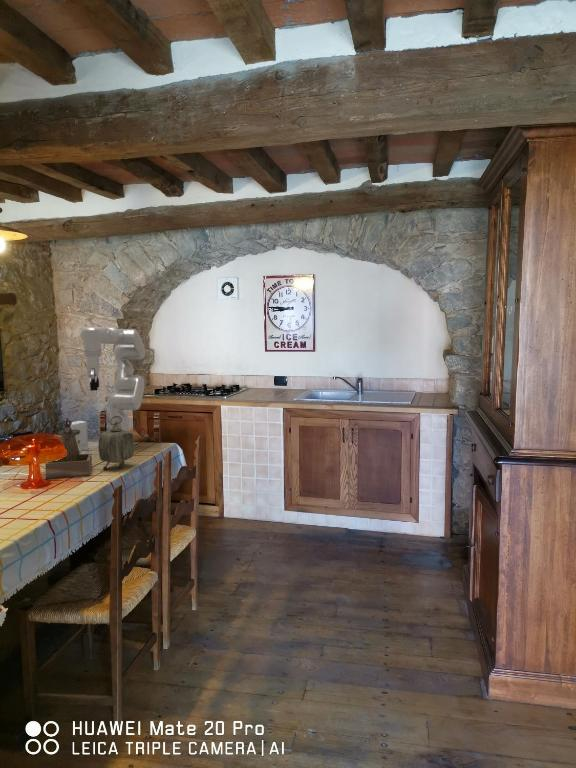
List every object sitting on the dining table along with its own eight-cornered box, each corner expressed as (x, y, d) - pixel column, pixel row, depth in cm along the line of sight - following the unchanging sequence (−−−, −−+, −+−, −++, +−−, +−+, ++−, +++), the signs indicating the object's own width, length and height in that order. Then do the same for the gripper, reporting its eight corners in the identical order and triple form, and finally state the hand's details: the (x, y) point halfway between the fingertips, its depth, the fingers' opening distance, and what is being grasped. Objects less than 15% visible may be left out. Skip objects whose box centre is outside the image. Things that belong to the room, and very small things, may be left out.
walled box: (51, 470, 244) (50, 456, 243) (92, 467, 249) (91, 453, 248) (46, 479, 230) (45, 463, 230) (89, 476, 235) (88, 460, 235)
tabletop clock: (123, 463, 257) (121, 413, 254) (136, 465, 253) (134, 414, 250) (99, 470, 245) (97, 417, 242) (112, 472, 240) (110, 419, 238)
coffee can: (60, 457, 269) (58, 430, 268) (81, 455, 273) (80, 428, 271) (58, 461, 260) (57, 434, 258) (81, 460, 263) (79, 432, 262)
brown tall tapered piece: (64, 474, 234) (61, 419, 232) (57, 471, 239) (54, 417, 238) (83, 470, 240) (80, 416, 238) (76, 468, 245) (73, 415, 244)
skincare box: (82, 447, 289) (81, 420, 288) (88, 449, 285) (87, 421, 284) (68, 450, 283) (66, 422, 281) (74, 452, 279) (73, 423, 277)
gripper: (86, 352, 257) (88, 386, 260) (82, 355, 241) (84, 391, 243) (102, 352, 259) (104, 386, 262) (99, 355, 243) (101, 391, 245)
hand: (94, 388), depth 253 cm, fingers open, 9 cm apart
